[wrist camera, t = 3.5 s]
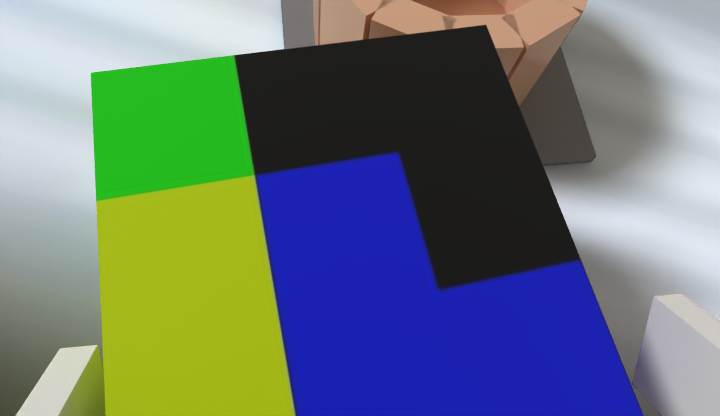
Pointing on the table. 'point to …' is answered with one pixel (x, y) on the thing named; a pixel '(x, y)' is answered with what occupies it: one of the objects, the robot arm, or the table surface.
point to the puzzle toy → (339, 240)
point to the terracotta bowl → (457, 10)
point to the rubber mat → (540, 107)
